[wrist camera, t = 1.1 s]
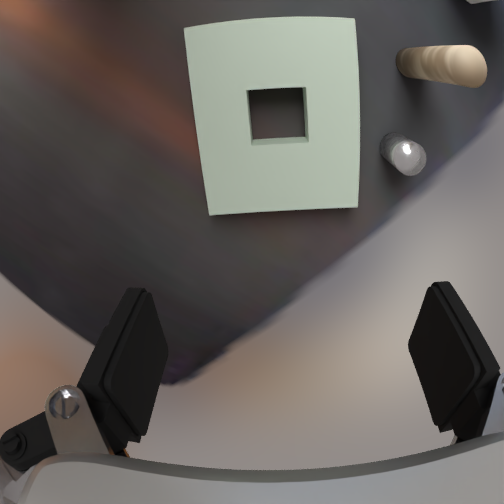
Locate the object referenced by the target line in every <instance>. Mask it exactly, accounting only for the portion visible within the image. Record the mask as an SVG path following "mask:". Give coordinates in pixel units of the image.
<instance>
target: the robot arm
mask: <svg viewBox="0 0 504 504" xmlns="http://www.w3.org/2000/svg"><path fill="white" fill-rule="evenodd" d="M408 348H409V352H410V355H411V357H412V360H413V363H414V365H415V368H416V371H417V374H418V376H419V380H420V382H421V385H422V388H423V391H424V394H425V397H426V400H427V404H428V407H429V410H430V413H431V416H432V420H433V422H434V424H435V425H436V426H438V428H439V431H440V433H441V432H445V431H449V430H452V429H453V430H454V434H455V435H454V438H453V440H452V442H451V444H450V446H447V447H442V448H438V449H435V450H431V451H426V452H422V453H418V454H414V455H409V456H404V457H399V458H394V459H389V460H384V461H377V462H371V463H364V464H356V465H349V466H340V467H330V468H319V469H302V470H231V469H215V468H202V467H193V466H183V465H175V464H167V463H160V462H153V461H147V460H141V459H135V458H130V456H129V454H128V453H127V451H126V449H125V448H126V447H127V443H128V441H132V442H137V443H140V439H141V436H145V435H146V433H147V430H148V426H149V422H150V418H151V414H152V411H153V407H154V403H155V399H156V396H157V392H158V389H159V385H160V382H161V378H162V374H163V371H164V367H165V364H166V361H167V357H168V346H167V343H166V340H165V337H164V333H163V330H162V327H161V324H160V321H159V318H158V315H157V311H156V308H155V305H154V301H153V298H152V295H151V293H149V292H147V291H146V289H145V288H128V289H127V290H126V292H125V294H124V295H123V297H122V299H121V301H120V303H119V305H118V307H117V309H116V311H115V312H114V314H113V316H112V318H111V320H110V322H109V324H108V325H107V326H106V327H105V328H104V330H103V332H102V334H101V336H100V338H99V340H98V342H97V344H96V346H95V348H94V350H93V352H92V355H91V357H90V359H89V361H88V363H87V365H86V367H85V369H84V372H83V373H82V376H81V378H80V380H79V382H78V384H77V387H75V386H72V385H64V386H61V387H58V388H56V389H55V390H53V391H52V392H51V393H50V394H49V396H48V398H47V399H46V402H45V411H44V412H42V413H40V414H38V415H37V416H34V417H33V418H31V419H29V420H27V421H25V422H23V423H21V424H19V425H17V426H15V427H13V428H11V429H9V430H7V431H6V432H5V433H4V434H3V435H2V437H1V439H0V504H504V373H502V374H500V372H499V369H500V367H499V365H498V363H497V361H496V359H495V357H494V355H493V353H492V351H491V350H490V348H489V346H488V344H487V342H486V340H485V339H484V337H483V335H482V334H481V332H480V330H479V328H478V326H477V325H476V323H475V321H474V320H473V318H472V317H471V315H470V313H469V311H468V310H467V308H466V307H465V305H464V304H463V302H462V300H461V299H460V297H459V296H458V294H457V292H456V291H455V289H454V288H453V286H452V285H451V284H450V282H448V281H444V282H434V283H433V284H432V285H431V287H429V288H428V289H427V291H426V294H425V297H424V301H423V304H422V306H421V309H420V312H419V315H418V318H417V320H416V323H415V326H414V329H413V331H412V334H411V336H410V339H409V343H408Z"/></svg>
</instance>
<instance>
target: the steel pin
mask: <svg viewBox="0 0 504 504" xmlns="http://www.w3.org/2000/svg"><path fill="white" fill-rule="evenodd" d="M380 152H381V155H382V156H383V157H384V158H385V159H386V160H387V161H388V162H389V163H391V164H392V165H393V166H394V167H395V168H397V169H398V170H399V171H400V172H401V173H403V174H404V175H407V176H413V175H416V174H418V173H419V172H421V171H422V169H423V168H424V166H425V163H426V154H425V151H424V149H423V148H422V147H421V146H420V145H419V144H417V143H415V142H414V141H412V140H410V139H408V138H406V137H405V136H403V135H401V134H399V133H396V132H392V133H388V134H386V135H385V136H384V137H383V138H382V140H381V142H380Z"/></svg>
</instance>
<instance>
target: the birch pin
mask: <svg viewBox="0 0 504 504" xmlns="http://www.w3.org/2000/svg"><path fill="white" fill-rule="evenodd" d="M396 65H397V68H398V70H399V71H400V72H401V73H402V74H403V75H404V76H406V77H409V78H416V79H424V80H431V81H438V82H444V83H450V84H456V85H461V86H466V87H471V88H476V87H479V86H481V85H482V84H483V83H484V81H485V79H486V76H487V66H486V62H485V59H484V57H483V56H482V54H481V53H480V52H479V51H478V50H477V49H476V48H474V47H472V46H469V45H448V46H428V47H414V48H405V49H402V50H400V51H399V52H398V54H397V56H396Z"/></svg>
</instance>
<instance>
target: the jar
mask: <svg viewBox="0 0 504 504" xmlns="http://www.w3.org/2000/svg"><path fill="white" fill-rule="evenodd" d="M466 1H467V2H469V3H470V4H475V3H481V2H487V1H495V0H466Z"/></svg>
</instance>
